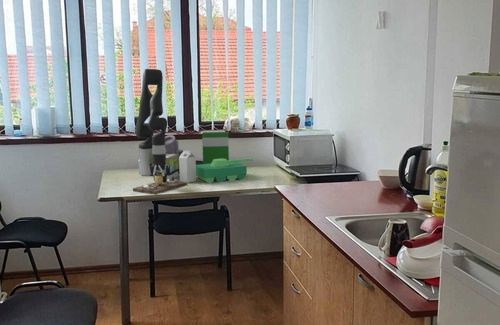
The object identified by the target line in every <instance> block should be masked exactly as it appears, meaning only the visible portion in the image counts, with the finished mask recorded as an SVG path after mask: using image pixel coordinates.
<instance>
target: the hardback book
mask: <svg viewBox="0 0 500 325" xmlns="http://www.w3.org/2000/svg"><path fill="white" fill-rule="evenodd" d="M201 138H202V143H201V144H202V164H211V163H212V161H213V160H214V159H226V160H230V155H229V153H230V152H229V148H230V147H229V143H230V142H229V131H202V133H201Z"/></svg>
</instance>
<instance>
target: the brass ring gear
mask: <svg viewBox="0 0 500 325" xmlns="http://www.w3.org/2000/svg"><path fill="white" fill-rule="evenodd" d="M154 183H156V184H163V183H164V182H163V174H157V175H155V181H154ZM165 183H166V182H165Z"/></svg>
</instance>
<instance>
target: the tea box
mask: <svg viewBox="0 0 500 325" xmlns="http://www.w3.org/2000/svg"><path fill="white" fill-rule="evenodd" d="M165 162H166V164H167V165H170V174H169V175H167V179H172V177H174V179H177V178H178V177H179V174H178V154H166V161H165ZM163 171H164V170H163ZM157 174H162V173H161V171H158V173H157Z"/></svg>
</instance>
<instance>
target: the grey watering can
mask: <svg viewBox="0 0 500 325" xmlns="http://www.w3.org/2000/svg"><path fill="white" fill-rule="evenodd" d="M165 148H166V154H178V175H180V172H179V156H180V155H181V154H182V152H183V150H184V149H180V148H179V141H178V139H176V136H174V135H172V134H169V135H168V134H167V135H165Z"/></svg>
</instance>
